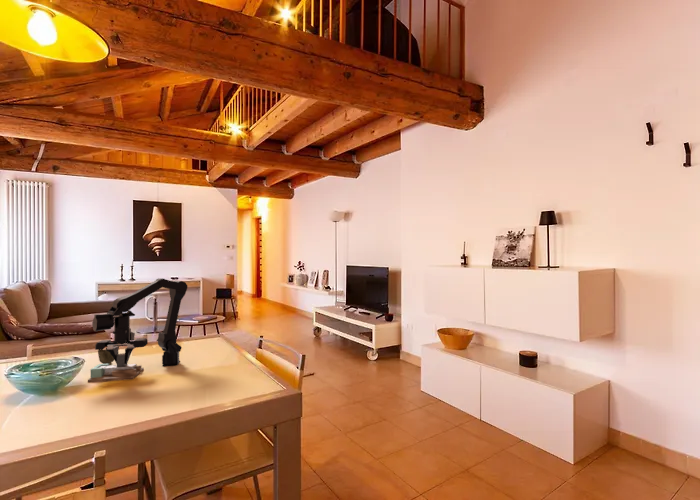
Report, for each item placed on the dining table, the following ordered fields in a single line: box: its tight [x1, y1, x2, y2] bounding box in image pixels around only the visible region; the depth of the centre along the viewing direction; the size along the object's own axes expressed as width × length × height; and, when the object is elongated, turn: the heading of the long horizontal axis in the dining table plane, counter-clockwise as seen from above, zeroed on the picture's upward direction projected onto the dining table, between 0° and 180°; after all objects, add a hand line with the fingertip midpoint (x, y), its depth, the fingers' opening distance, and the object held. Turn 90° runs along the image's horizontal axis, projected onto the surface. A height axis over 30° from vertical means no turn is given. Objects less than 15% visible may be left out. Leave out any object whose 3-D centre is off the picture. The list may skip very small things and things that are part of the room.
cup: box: [97, 347, 115, 366], centre depth 175 cm, size 8×7×8 cm
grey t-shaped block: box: [99, 352, 138, 375], centre depth 160 cm, size 14×4×8 cm, turn 101°
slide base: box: [87, 364, 145, 383], centre depth 160 cm, size 17×13×3 cm
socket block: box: [90, 363, 109, 378], centre depth 159 cm, size 4×8×4 cm, turn 11°
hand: (122, 363), depth 160 cm, fingers closed on grey t-shaped block, 3 cm apart
